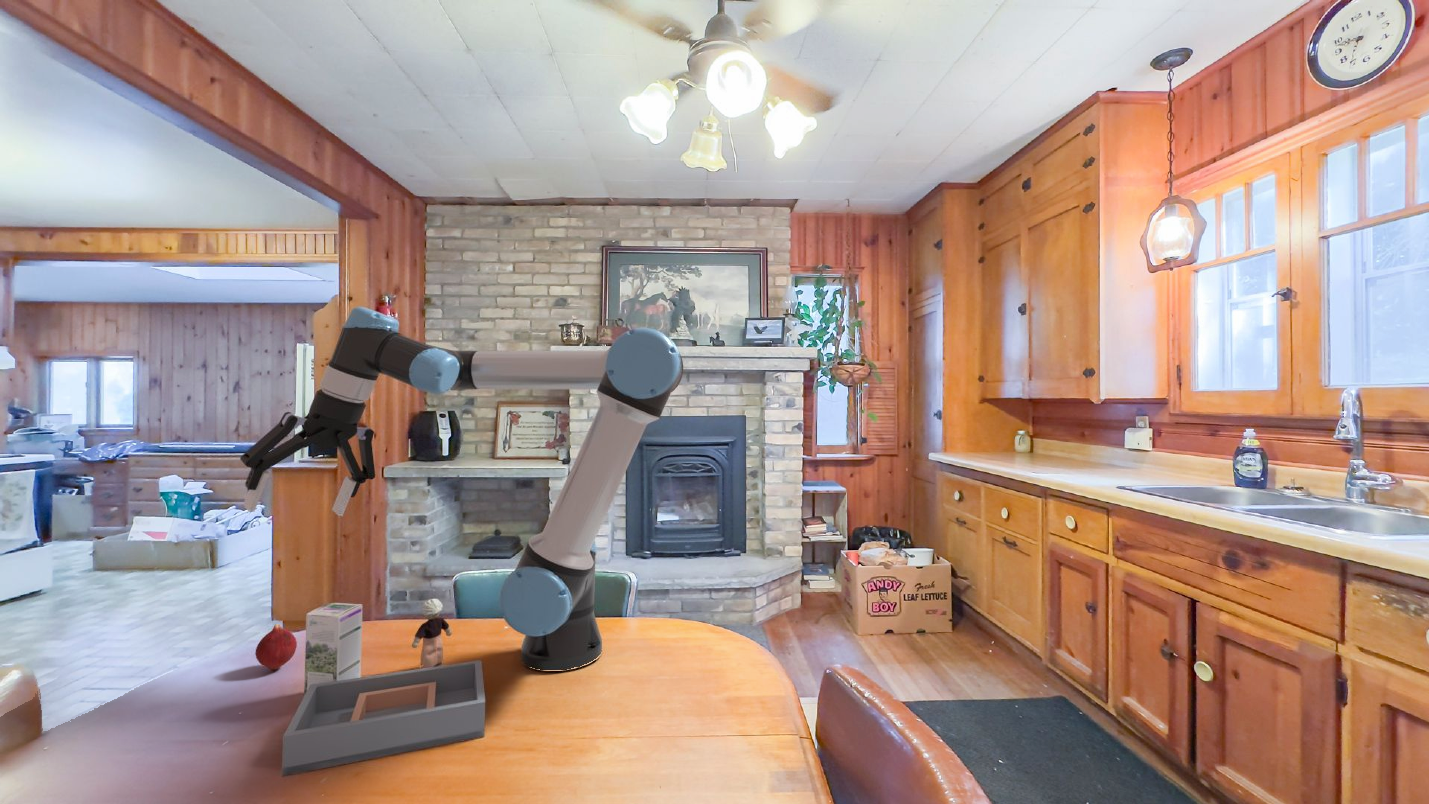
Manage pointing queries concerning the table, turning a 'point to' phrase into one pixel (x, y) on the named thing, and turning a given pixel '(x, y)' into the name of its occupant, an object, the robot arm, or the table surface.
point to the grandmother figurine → (431, 635)
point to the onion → (276, 648)
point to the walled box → (384, 716)
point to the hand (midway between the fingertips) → (295, 510)
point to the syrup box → (333, 643)
